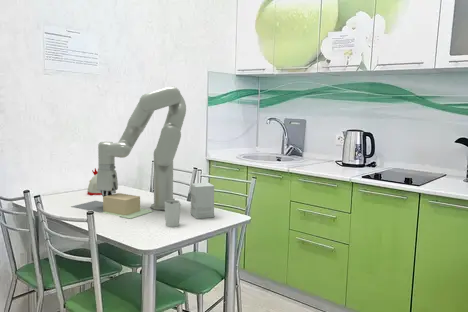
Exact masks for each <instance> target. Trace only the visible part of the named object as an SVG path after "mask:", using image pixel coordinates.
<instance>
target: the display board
mask: <svg viewBox="0 0 468 312" xmlns="http://www.w3.org/2000/svg"><path fill="white" fill-rule="evenodd" d="M70 207H71V208H74V209H80V210H85V211H89V210H93V211H92V212H95V213H101V214H106V215H111V216H116V217H119V218H122V219H129V220H132V219H135V218H139V217H141V216H144V215H147V214H150V213H153V212H154V209H147V208H142V207H140V211H138V212H135V213H131V214H128V215H121V214H116V213H111V212H105V211H103V201H99V200H93V201H88V202H85V203H81V204H76V205H72V206H70Z"/></svg>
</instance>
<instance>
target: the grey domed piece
mask: <svg viewBox="0 0 468 312" xmlns="http://www.w3.org/2000/svg"><path fill="white" fill-rule="evenodd" d="M98 170H99V168H98V167H97V169H96V167H95V168H94V169H92V172H91V173H92V174H93V177H92V178H91V179H90V180H89V181H88V182H89V184H88V187H87V192H86V193H87V195H88V196H102V193H101V192H99V191H98V188H97V173H98Z"/></svg>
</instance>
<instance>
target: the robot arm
mask: <svg viewBox="0 0 468 312" xmlns="http://www.w3.org/2000/svg"><path fill="white" fill-rule="evenodd" d="M166 107H168V112H167V113H166V118H165V121H164V124H163V127H162V128H161V131H160V135H159V138H158V141H157V144H156V147H155V148H154V149H153V203H152V204H150V208H151V210H155V211H165V201H168V200H176V199H175V198H174V158H175V156H176V153H177V150H178V149H179V148H178V147H179V144H180V141H181V137H182V132H181V130H182V128H183V124H184V120H185V117H186V113H187V104H186V101H185V98H184V96H183V95H182V94H181V91H180V90H179V89H178V88H177V87H175V86H167V87H164V88H160V89H158V90H155V91H152V92H147V93H144V94H142V95H141V97H140V98H139V101H138V102H137V104H136V106H135V108H134V110H133V112H132V113H131V115H130V117H129V119H128V121H127V124H126V127H125V129H124V132H123V133H122V135H121V137H120V138H119V140H118V142H113V141H101V142H99V143H98V144H97V145H98V148H97V149H98V150H97V153H98V156H97V157H98V165H97V166H98V167H97V171H98V173H97V188H98V191H99V192H101V193H102V195H101V196H102V198H103V197H104V196H108V195H112V194H116V192H117V190H118V188H119V183H118V181H119V180H118V174H117V170H116V164H115V162H116V161H115V160H116V159H115V158H120V159H121V158H123V159H124V158H126V157H128V156H129V155H130V153H131V152H132V150H133V148H134V146H135V144H136V143H137V141H138V139H139V137H140V136H141V134H142V133H143V132H144V130H145V129H146V127H147V125H148V123H149V122H150V119H151V118H152V116H153V114H154V112H155V111H158V110H162V109H163V108H166ZM98 168H99V170H98Z"/></svg>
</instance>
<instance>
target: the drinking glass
mask: <svg viewBox="0 0 468 312" xmlns="http://www.w3.org/2000/svg"><path fill="white" fill-rule="evenodd" d="M180 215H181V201H180V200H178V199H175V200H168V201H165V210H164V217H165V226H167V227H177V226H179V225H180V217H181V216H180Z"/></svg>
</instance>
